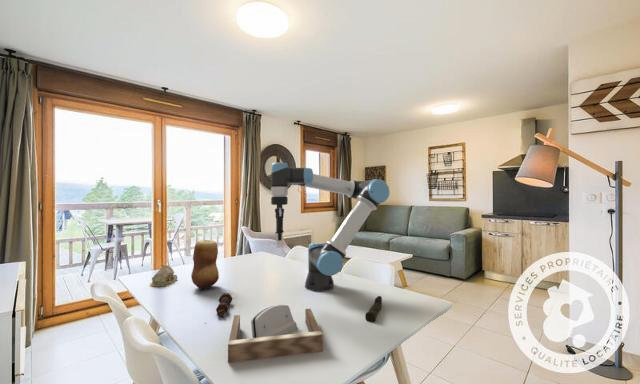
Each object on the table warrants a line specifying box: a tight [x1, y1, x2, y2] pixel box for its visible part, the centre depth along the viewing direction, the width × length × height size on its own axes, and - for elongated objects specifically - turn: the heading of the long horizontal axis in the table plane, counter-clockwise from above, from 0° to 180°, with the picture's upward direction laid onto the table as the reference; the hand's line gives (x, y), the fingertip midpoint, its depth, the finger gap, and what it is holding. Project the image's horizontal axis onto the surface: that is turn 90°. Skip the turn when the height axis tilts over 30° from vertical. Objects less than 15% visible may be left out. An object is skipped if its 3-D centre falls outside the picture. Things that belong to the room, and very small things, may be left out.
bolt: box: [215, 292, 233, 318], centre depth 119 cm, size 6×5×15 cm
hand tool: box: [364, 295, 383, 323], centre depth 116 cm, size 19×4×5 cm, turn 154°
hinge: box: [250, 304, 298, 338], centre depth 99 cm, size 17×5×10 cm, turn 141°
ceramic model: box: [149, 264, 178, 288], centre depth 157 cm, size 14×11×10 cm
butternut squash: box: [190, 239, 220, 291], centre depth 148 cm, size 14×13×25 cm
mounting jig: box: [227, 308, 324, 364], centre depth 95 cm, size 28×21×5 cm
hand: (279, 247), depth 131 cm, fingers closed
